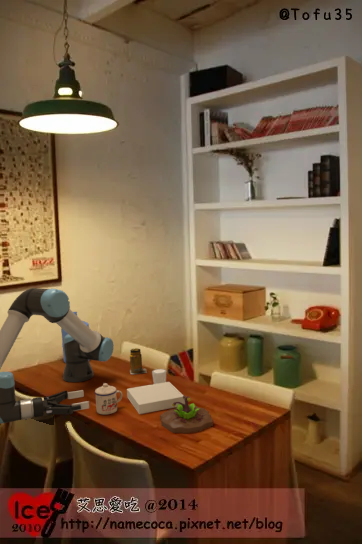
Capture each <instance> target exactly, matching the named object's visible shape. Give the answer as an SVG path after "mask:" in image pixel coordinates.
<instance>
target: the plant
mask: <svg viewBox="0 0 362 544" xmlns="http://www.w3.org/2000/svg"><path fill="white" fill-rule="evenodd" d="M183 395H184V394H183ZM191 398H192V397H190V396H189V395H187V396H186V395H184V396H183V399H184V400H185V404H182V403H181V402H174V403H173V404H172V406H175V405H176V404H177V403H179V404H178V407H174V408H171V409H168V410H166V411H164V412H163V413H161V414H160V415H159V417H160V418H159V419H160V424H161V426H162V427H164V429H166V430H168V431H169V432H170V433H173V434H192V433H197V432H198V431H199V432H202V431H204V430H205V428H206V429H208V427H209V428H212V427H211V426H213V427H214V423H213V422H214V421H213V418H212V417H211V414H210V412H209V410H206V408H204V407H199V406H197V405H196V404H195V403H194V402H192V403H190V402H191V401H192V399H191ZM189 403H190V404H189ZM180 404H181V405H180ZM203 429H204V430H203Z"/></svg>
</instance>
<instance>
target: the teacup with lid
mask: <svg viewBox="0 0 362 544" xmlns="http://www.w3.org/2000/svg"><path fill="white" fill-rule="evenodd" d="M118 393H119V398H118V399H117V394H118ZM94 394H95V407H96V408H95V409H96V413H97V414H98V415H99V414H100V415H104V416H105V415H110V414H111V415H112V414H114V413H116V412H117V411H118V403H119V402H120V401H121V400H122V398H123V392H122V391H121V390H117V387H115V386H113V385H109V384H108V383H106V382H103V384H102V385H101V386H99V387H97V388H95V391H94Z"/></svg>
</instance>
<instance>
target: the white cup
mask: <svg viewBox="0 0 362 544" xmlns="http://www.w3.org/2000/svg"><path fill="white" fill-rule="evenodd" d="M151 375H152V381H153V384H158V383H164V382H167V370H166V369H163V368H157V369H153V370H152V371H151Z"/></svg>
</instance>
